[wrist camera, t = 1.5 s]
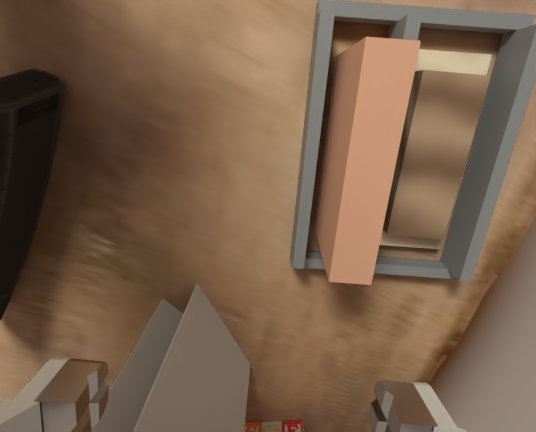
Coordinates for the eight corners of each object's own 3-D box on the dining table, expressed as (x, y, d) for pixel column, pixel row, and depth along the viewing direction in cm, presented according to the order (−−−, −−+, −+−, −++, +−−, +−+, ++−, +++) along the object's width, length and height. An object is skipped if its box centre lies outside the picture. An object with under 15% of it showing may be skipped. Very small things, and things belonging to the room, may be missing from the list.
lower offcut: (408, 51, 33) (416, 49, 31) (479, 56, 33) (491, 54, 31) (373, 237, 40) (377, 244, 38) (431, 241, 40) (439, 249, 38)
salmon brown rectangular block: (335, 56, 33) (366, 36, 21) (371, 59, 33) (420, 40, 21) (314, 227, 39) (328, 281, 28) (344, 229, 39) (371, 285, 28)
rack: (316, 4, 31) (322, -10, 27) (519, 19, 31) (557, 8, 27) (290, 258, 40) (291, 278, 36) (447, 270, 40) (467, 291, 36)
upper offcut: (415, 71, 32) (423, 69, 30) (478, 76, 32) (490, 75, 30) (381, 227, 37) (386, 234, 35) (435, 232, 37) (443, 239, 35)
